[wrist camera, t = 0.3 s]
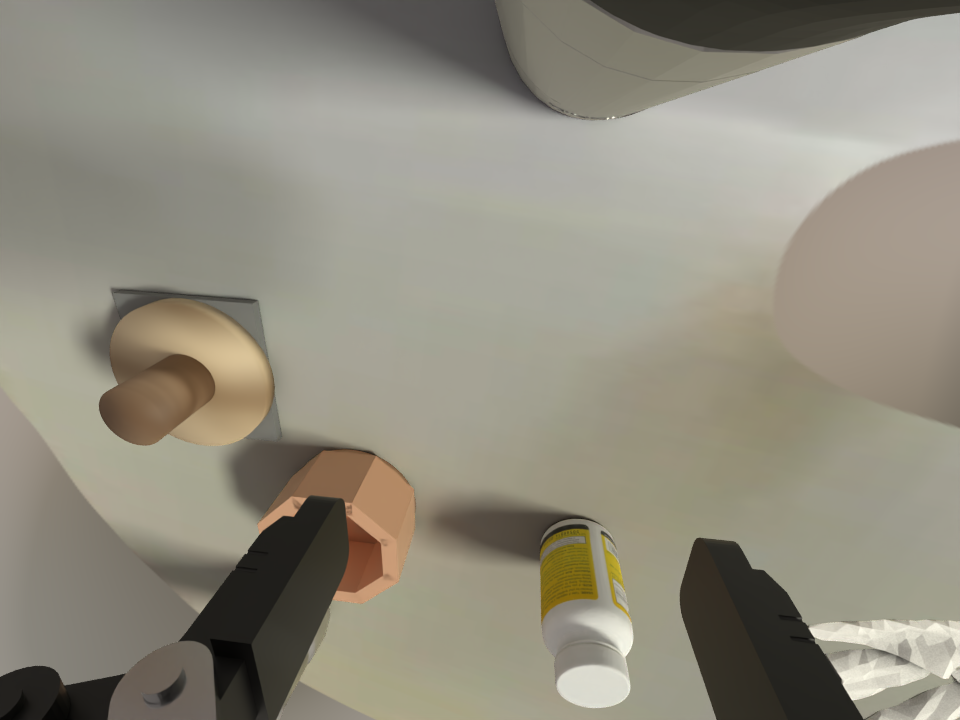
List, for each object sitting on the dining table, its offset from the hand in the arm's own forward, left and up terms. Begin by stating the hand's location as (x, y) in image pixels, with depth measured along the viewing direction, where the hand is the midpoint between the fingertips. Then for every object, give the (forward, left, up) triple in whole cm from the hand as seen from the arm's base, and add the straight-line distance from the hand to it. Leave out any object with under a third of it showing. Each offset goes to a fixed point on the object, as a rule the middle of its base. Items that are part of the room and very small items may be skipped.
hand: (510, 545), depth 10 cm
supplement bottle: (+18, +5, -17) cm, 26 cm away
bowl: (+16, -11, -17) cm, 26 cm away
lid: (+6, -21, -17) cm, 27 cm away
